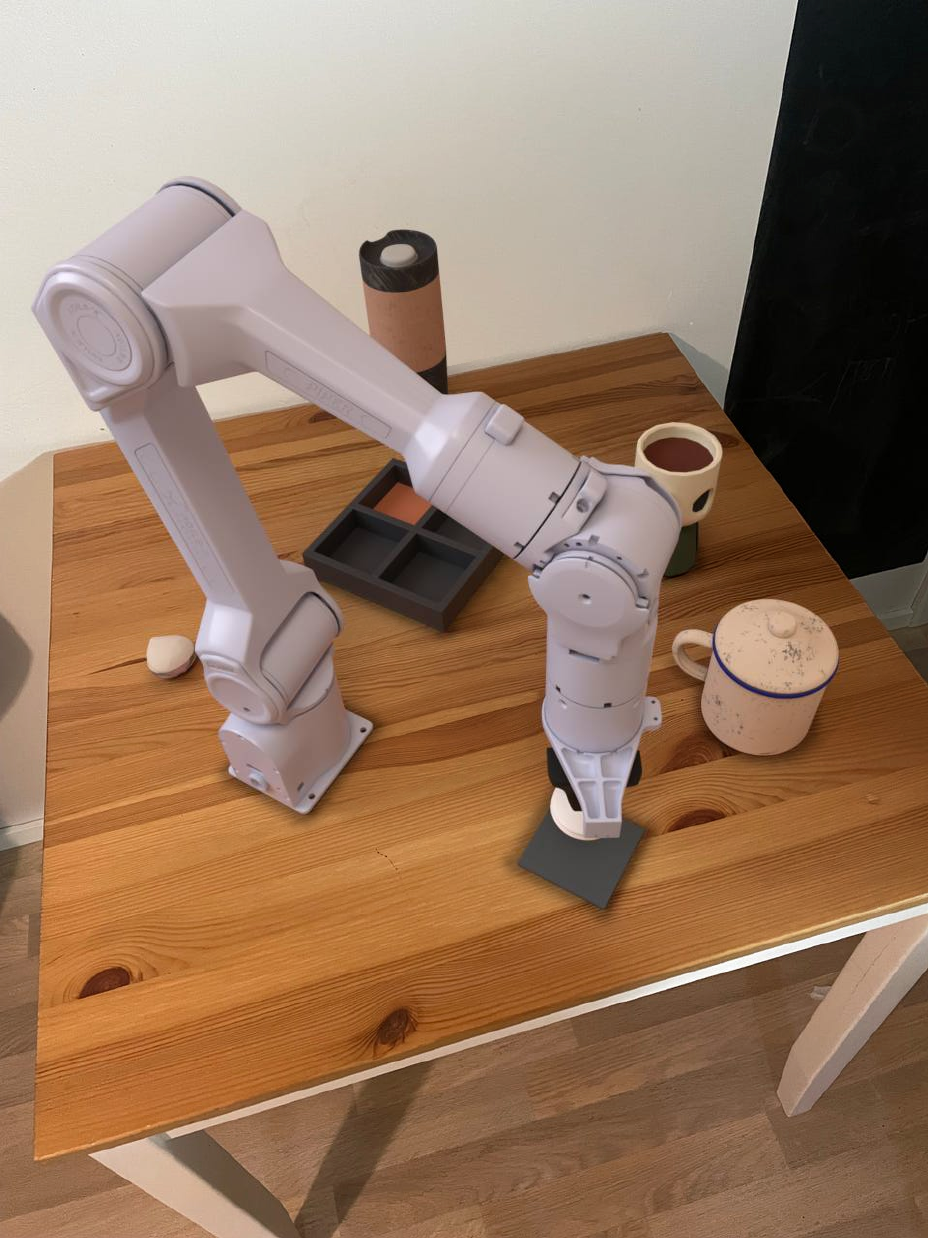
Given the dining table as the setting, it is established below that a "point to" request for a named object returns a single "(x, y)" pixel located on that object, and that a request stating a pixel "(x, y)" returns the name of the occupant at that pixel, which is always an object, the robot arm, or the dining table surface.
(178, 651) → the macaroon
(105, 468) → the dining table surface
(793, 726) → the teacup with lid
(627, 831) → the coaster
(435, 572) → the tray
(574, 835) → the chess piece
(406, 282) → the travel mug
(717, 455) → the character mug
